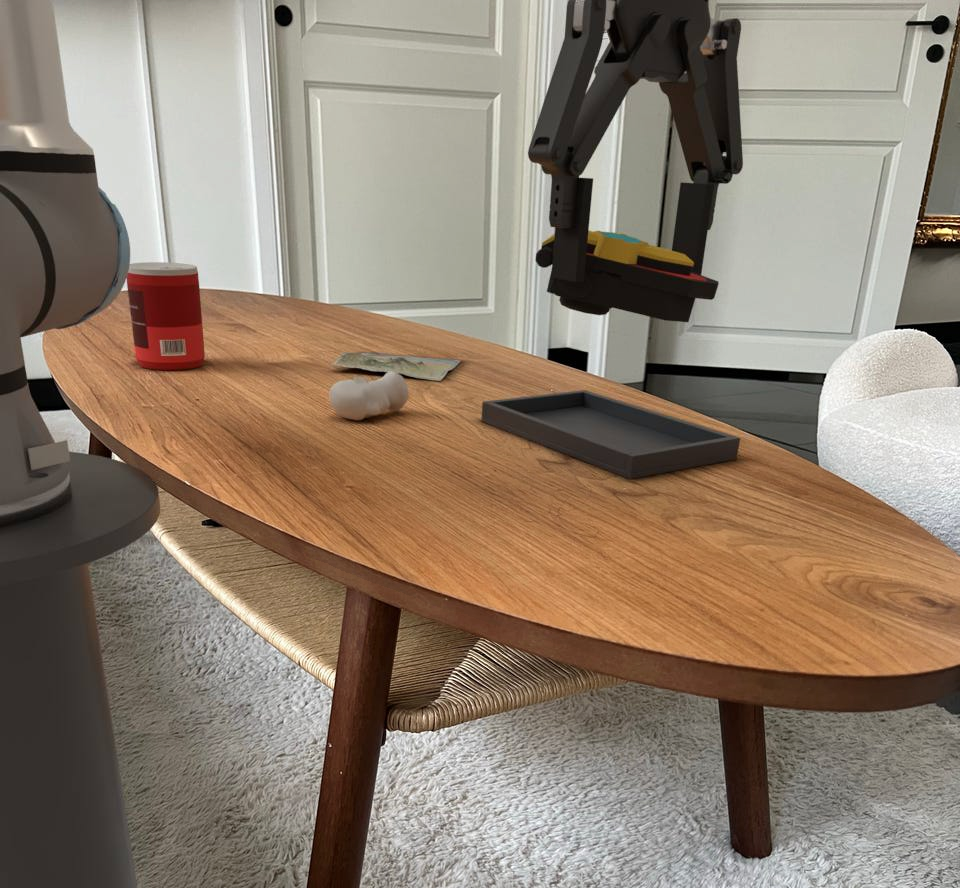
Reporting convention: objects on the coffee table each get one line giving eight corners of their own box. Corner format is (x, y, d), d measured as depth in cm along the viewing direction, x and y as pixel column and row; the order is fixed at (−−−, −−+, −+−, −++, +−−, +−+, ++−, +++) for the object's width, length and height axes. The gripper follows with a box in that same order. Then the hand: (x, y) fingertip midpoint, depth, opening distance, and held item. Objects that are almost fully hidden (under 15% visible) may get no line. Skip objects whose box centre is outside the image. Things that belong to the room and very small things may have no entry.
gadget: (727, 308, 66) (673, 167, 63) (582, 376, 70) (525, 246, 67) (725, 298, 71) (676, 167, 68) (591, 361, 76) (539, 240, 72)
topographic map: (440, 381, 110) (441, 367, 110) (329, 368, 112) (330, 354, 111) (461, 365, 122) (462, 352, 122) (362, 353, 124) (362, 340, 123)
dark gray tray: (481, 421, 94) (481, 401, 93) (582, 408, 101) (584, 389, 101) (630, 479, 79) (633, 456, 78) (736, 459, 86) (740, 437, 85)
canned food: (218, 363, 113) (211, 266, 108) (174, 373, 107) (164, 271, 102) (168, 355, 116) (159, 260, 111) (122, 365, 110) (109, 265, 105)
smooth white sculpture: (341, 435, 91) (321, 408, 94) (414, 427, 95) (393, 401, 98) (344, 396, 88) (324, 369, 91) (420, 389, 92) (399, 363, 95)
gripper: (564, -143, 50) (534, 288, 60) (834, -67, 63) (772, 281, 73) (485, -117, 56) (469, 275, 66) (748, -52, 68) (701, 270, 78)
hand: (628, 278), depth 69 cm, fingers closed on gadget, 11 cm apart
